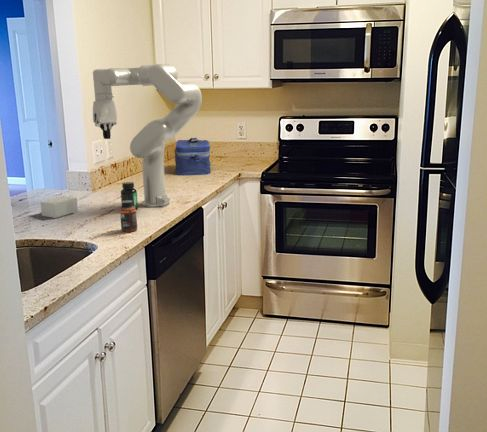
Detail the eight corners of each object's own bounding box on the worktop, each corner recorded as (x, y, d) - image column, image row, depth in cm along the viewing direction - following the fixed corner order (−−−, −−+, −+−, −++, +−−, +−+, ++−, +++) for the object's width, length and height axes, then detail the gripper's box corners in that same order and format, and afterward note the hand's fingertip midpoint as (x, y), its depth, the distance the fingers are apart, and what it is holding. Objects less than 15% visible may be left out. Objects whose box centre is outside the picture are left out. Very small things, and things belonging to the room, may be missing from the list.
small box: (65, 209, 246) (41, 216, 235) (63, 195, 244) (39, 201, 233) (78, 211, 242) (55, 218, 231) (77, 197, 240) (53, 203, 229)
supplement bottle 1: (140, 210, 242) (138, 183, 239) (124, 212, 239) (122, 185, 236) (135, 207, 248) (133, 180, 245) (120, 209, 244) (117, 182, 241)
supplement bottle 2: (138, 228, 214) (136, 199, 211) (136, 232, 208) (133, 202, 205) (122, 228, 214) (120, 199, 211) (120, 232, 208) (117, 203, 205)
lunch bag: (212, 175, 322) (211, 139, 316) (176, 177, 319) (174, 141, 314) (209, 167, 351) (207, 134, 346) (175, 168, 349) (173, 135, 344)
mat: (73, 213, 239) (73, 213, 239) (43, 220, 229) (43, 219, 229) (59, 209, 247) (59, 209, 247) (29, 216, 237) (29, 215, 237)
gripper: (112, 96, 258) (116, 136, 262) (84, 98, 247) (88, 139, 252) (122, 96, 253) (125, 137, 258) (93, 98, 242) (97, 140, 247)
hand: (107, 138), depth 255 cm, fingers closed
